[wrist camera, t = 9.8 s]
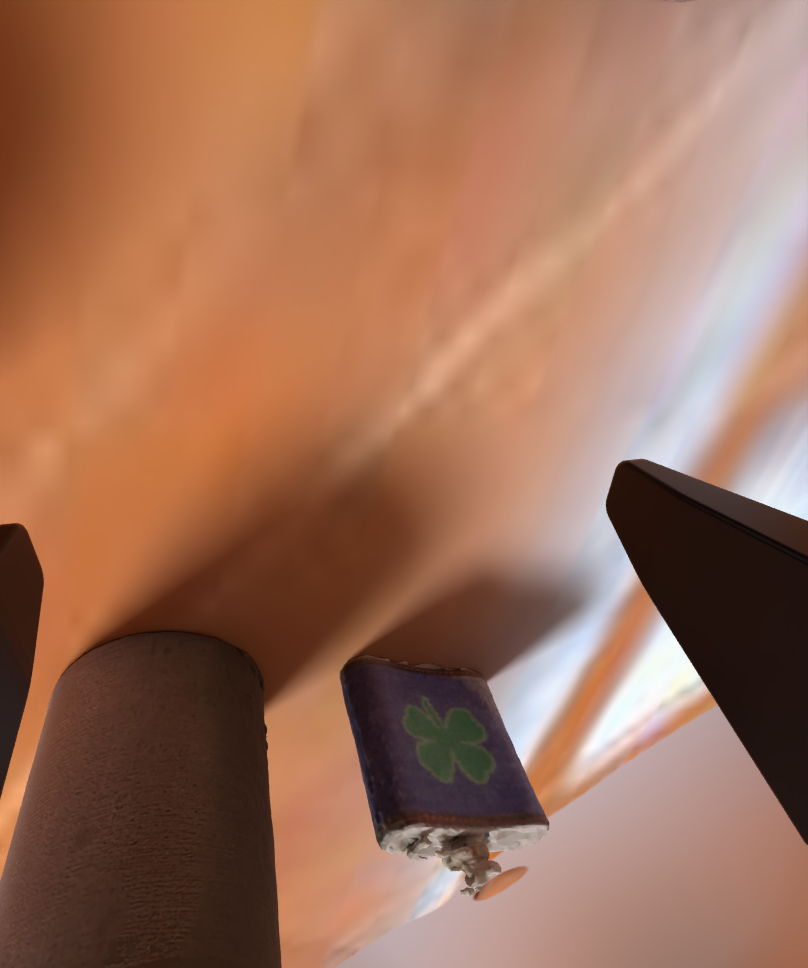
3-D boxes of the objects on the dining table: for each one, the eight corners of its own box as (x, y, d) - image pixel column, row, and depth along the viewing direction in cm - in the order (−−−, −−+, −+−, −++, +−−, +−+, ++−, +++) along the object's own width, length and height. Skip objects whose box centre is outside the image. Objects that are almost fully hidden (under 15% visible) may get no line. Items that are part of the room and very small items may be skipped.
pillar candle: (284, 635, 29) (329, 1036, 17) (241, 758, 33) (252, 1144, 21) (55, 621, 25) (-100, 1126, 13) (42, 762, 29) (-83, 1235, 17)
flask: (491, 670, 35) (580, 865, 26) (466, 702, 36) (544, 899, 27) (350, 649, 31) (402, 873, 22) (327, 686, 32) (368, 912, 23)
